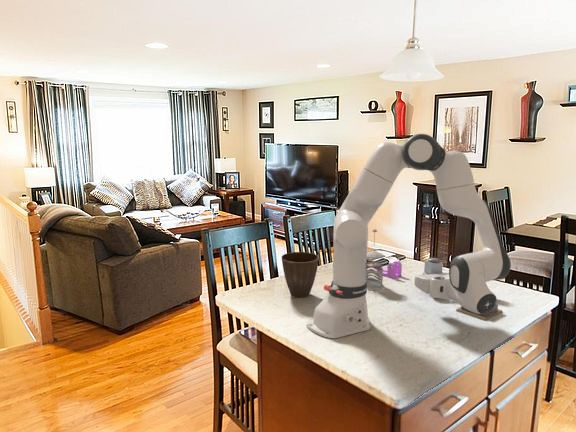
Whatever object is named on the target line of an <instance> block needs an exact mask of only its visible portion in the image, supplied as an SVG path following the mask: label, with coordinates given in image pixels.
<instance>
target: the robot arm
mask: <svg viewBox="0 0 576 432" xmlns="http://www.w3.org/2000/svg"><path fill="white" fill-rule="evenodd" d="M405 168H406V169H407V168H408V169H412V170H415V171H429V172H430V173H432V176H433V178H434V181H435V182H434V183H435V187H436V194H437V198H438V199H437V200H438V202H439V205H440V207H441V208H442V209H443V210H444V211H445V212H447V213H448V214H449V215H450V214H451V215H453V216H456V217H460V218H461V217H462V218H467V219H469V220H471V221H472V222H473V223H474V224H475V226H476V228H477V230H478V234H479V237H480V240H481V242H482V246H483V248H482V250H477V251H474V252H468V253H465V254H464V253H463V254H460V255H456V256H455V257H453V259H452V260H451V262H450V264H449V270H448V272H443V271H442V273H441V274H429V273H427V272H425V273H424V272H422V274H417V275H415V277H414V286H415V288H417V289H418V290H420V291H422V292H423V293H426V294H429V297H430V298H432V299H444V300H447V301H448V300H449V301H452V302H454V303H456V304H459V306H460V307H461V306H462V307H464V308H466V309H467V310H469V311H472V312H474V313H477V314H485V313H487V312H489V311H491V310H492V309H493V308H494V307H495V305H496V304H497V295H496V294H495V293H494V292H493V291H491V289H490V288H489V286H488V285H487V282H490V281H492V282H493V281H498V280H499V281H500V280H505V278H507V277H508V275H509V273H510V271H511V266H512V262H511V259H510V257H509V254H508V252H507V251H506V249H505V247H504V245H503V241H502V238H501V236H500V233H499V229H498V227H497V224H496V221H495V218H494V215H493V213H492V210H491V206H490V205H489V204H488V202H487V201H486V200H484V199H483V198H481V196H480V194H479V193H478V191H477V189H476V185H475V180H474V175H473V171H472V169H471V166H470V162H469V159H468V158H467V155H466V154H465V153H464V152H461V151H459V150H449V151H448V150H447V151H446V150H445V149H444V148H443V147H442V146H441V144H440V143H439V142H438V141H437V140H436V139H435V138H434V137H433V136H432V135H429V134H427V133H416V134H414V135H411V136H410V137H409V138H408V139H406V141H405V142H404V144H402V145H400V144H396V143H394V142H391V141H385V142H381V143H379V144H378V146H377V147H376V148H375V149H374V150H373V152H372V153H371V154H370V156H369V157H368V159H367V161H366V162H365V164H364V165H363V168H362V169H361V171H360V173H359V175H358V177H357V179H356V181H355V182H354V185H353V186H352V188H351V189H350V192H348V195H347V196H346V197H345V199H344V201H343V203H342V205H341V206H340V207H339V210H338V211H337V213H336V215H335V217H334V221H333V242H332V243H333V246H332V247H333V250H332V252H333V258H332V259H333V261H332V262H333V264H332V266H333V267H332V268H333V269H332V273H333V274H332V280H331V283H330V285H329V284H327V283H325V284H324V286H323V290H324V291H326V292H328V294H327V295H326V296H325V297H324V298H322V301H321V302H320V303H319V304H318V305H317V306H315V308H314V310H313V311H314V313H313V318H312V319H310V320H308V321H307V322H306V327H307V329H309V330H310V331H312V332H313V333H315V334H317V335H318V336H319V335H320V337H325V338H328V339H338V338H342V337H345V336H350V335H355V334H358V333H363V332H366V331H369V330H371V324H370V319H369V314H368V313H369V312H368V310H369V309H368V304H367V298H366V296H367V293H368V289H367V283H366V263H367V257H366V256H367V252H368V243H369V242H368V240H369V226H368V225H369V223H370V222H371V220H372V219H373V217H374V215H376V212H377V211H378V210H379V209H380V207H381V206H382V205H383V203H384V201H385V199H386V198H387V196H388V195H389V193H390V191H391V189H392V187H393V186H394V183H395V181H396V180H397V178H398V176H399V174H400V173H401V172H402V171H403V170H404V169H405Z"/></svg>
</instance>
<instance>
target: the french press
mask: <svg viewBox="0 0 576 432" xmlns="http://www.w3.org/2000/svg"><path fill="white" fill-rule="evenodd" d="M371 232H372V233H374V237H373V245H375V237H376V233H377V232H378V230H377V229H376V228H373V229H372V231H371ZM384 257H385V256H384V254H383V253H382V252H379V251H375V250H372V251H367V256H366V259H367V258H368V259H373V261H368V262H366V283H367V291H380V290H381V291H382V290H384V289H385V287H386V286H385V285H384V284H383V277H384V276H383V269H384V267H382V266H383V264H382V263H380V262H378V261H375V260H376V259H377V260H379V259H382V258H384ZM374 269H376V270H378V271H375V270H374Z"/></svg>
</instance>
